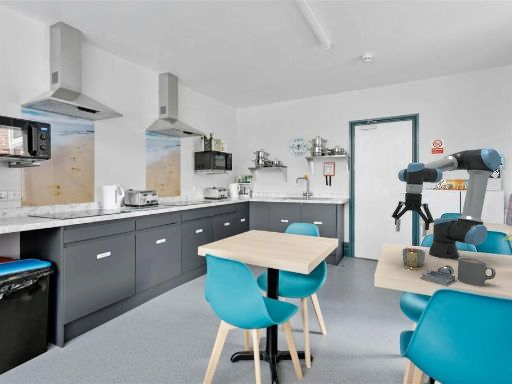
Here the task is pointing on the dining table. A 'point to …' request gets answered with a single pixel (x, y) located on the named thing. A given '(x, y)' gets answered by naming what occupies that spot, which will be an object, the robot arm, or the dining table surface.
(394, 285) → the dining table surface
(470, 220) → the robot arm
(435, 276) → the flange seat
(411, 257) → the cylinder
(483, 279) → the coffee mug
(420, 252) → the teacup
